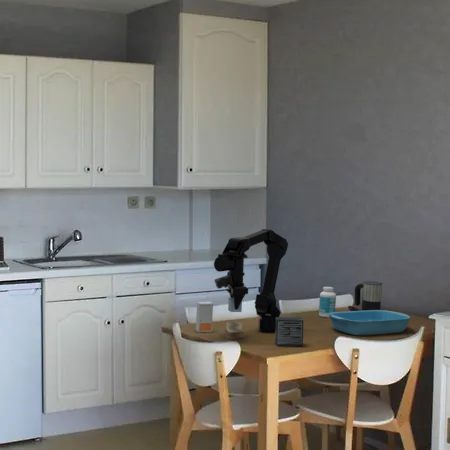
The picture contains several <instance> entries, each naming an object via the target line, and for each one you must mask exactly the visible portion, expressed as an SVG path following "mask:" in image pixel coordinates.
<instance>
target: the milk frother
mask: <svg viewBox="0 0 450 450" xmlns="http://www.w3.org/2000/svg"><path fill="white" fill-rule="evenodd" d="M383 284H384V283H383V282H381V281H373V280H365V281H363V282H362V283H358V284H356V286H355V287H354V305H355V306H360V305H361V309H359V308H358V307H355V306H353V305H349V306H348V307H347V308H348V311H366V310H382V309H381V307H382V305H381V304H382V294H383V293H382V291H383V290H382V289H383ZM361 289H362V298H361ZM361 299H362V301H361Z"/></svg>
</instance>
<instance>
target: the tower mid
mask: <svg viewBox="0 0 450 450" xmlns="http://www.w3.org/2000/svg"><path fill="white" fill-rule="evenodd" d="M226 330H227V331H228V332H243V324H242V323H241V322H240V321H237V322H236V321H229V322H226Z"/></svg>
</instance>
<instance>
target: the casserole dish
mask: <svg viewBox="0 0 450 450" xmlns="http://www.w3.org/2000/svg"><path fill="white" fill-rule="evenodd" d="M329 315H330V322H331V325H332V326H333V328H334V329H335V330H336V331H340V332H341V333H344V334H345V333H346V334H349V335H353V336H370V335H372V336H375V335H388V334H397V333H398V334H399V333H402V332H404V331H405V330H406V329H407V328H408V327H407V326H408V324H409V322H410V319H411V317H410V316H409V315H408V314H406V313H403V312H398V311H391V310H382V309H381V310H366V311H350V310H348V311H335V312H333V313H330V314H329Z"/></svg>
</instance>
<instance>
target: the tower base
mask: <svg viewBox="0 0 450 450" xmlns="http://www.w3.org/2000/svg"><path fill="white" fill-rule="evenodd" d="M224 337H225V338H227V339H229V340H240V339H241V340H242V339H244V331H242V332H228V331H227V329H225V330H224Z"/></svg>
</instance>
